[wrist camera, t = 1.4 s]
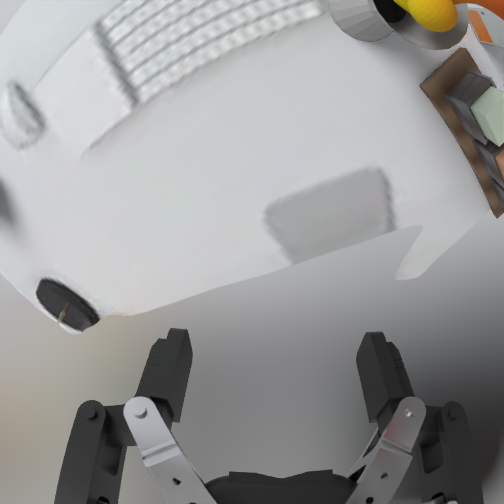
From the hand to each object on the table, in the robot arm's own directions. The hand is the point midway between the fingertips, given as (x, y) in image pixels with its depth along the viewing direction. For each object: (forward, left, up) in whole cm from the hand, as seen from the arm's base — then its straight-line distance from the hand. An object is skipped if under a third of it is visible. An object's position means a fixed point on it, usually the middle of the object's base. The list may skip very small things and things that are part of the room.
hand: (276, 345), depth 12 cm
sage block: (-15, +24, -26) cm, 38 cm away
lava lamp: (-20, +6, -29) cm, 36 cm away
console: (-12, +32, -29) cm, 45 cm away
